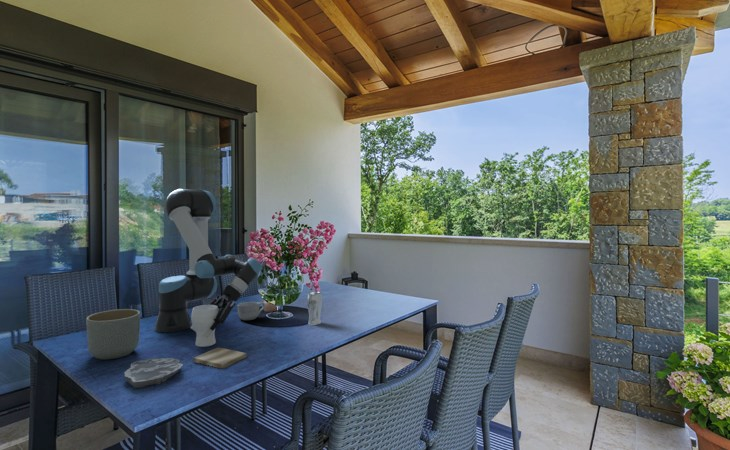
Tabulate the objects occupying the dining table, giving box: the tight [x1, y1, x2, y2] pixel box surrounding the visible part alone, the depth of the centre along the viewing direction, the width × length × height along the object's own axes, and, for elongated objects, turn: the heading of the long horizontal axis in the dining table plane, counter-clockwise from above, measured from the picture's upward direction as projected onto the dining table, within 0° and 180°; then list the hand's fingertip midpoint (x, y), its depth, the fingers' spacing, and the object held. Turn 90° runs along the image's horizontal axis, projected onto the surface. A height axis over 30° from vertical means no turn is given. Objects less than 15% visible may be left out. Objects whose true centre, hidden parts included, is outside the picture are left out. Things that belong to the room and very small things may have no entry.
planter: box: [85, 308, 141, 361], centre depth 145 cm, size 17×17×15 cm
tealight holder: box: [263, 299, 277, 313], centre depth 213 cm, size 8×8×6 cm
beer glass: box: [307, 291, 323, 326], centre depth 188 cm, size 7×7×15 cm
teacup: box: [237, 301, 265, 321], centre depth 195 cm, size 14×11×8 cm
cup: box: [190, 304, 219, 348], centre depth 158 cm, size 11×11×15 cm
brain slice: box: [123, 357, 184, 389], centre depth 128 cm, size 20×17×3 cm
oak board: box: [192, 346, 248, 370], centre depth 142 cm, size 14×12×2 cm
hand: (198, 332), depth 156 cm, fingers closed on cup, 10 cm apart
